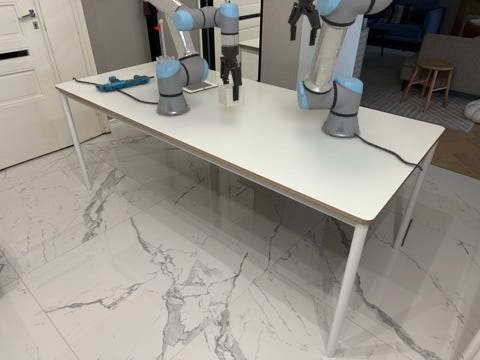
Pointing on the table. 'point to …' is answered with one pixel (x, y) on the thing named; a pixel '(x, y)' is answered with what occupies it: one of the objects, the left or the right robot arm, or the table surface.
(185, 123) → the table surface
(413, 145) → the table surface
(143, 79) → the submachine gun
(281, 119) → the table surface
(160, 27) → the flag stand
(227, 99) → the block
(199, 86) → the tablet
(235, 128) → the table surface
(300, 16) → the right robot arm
